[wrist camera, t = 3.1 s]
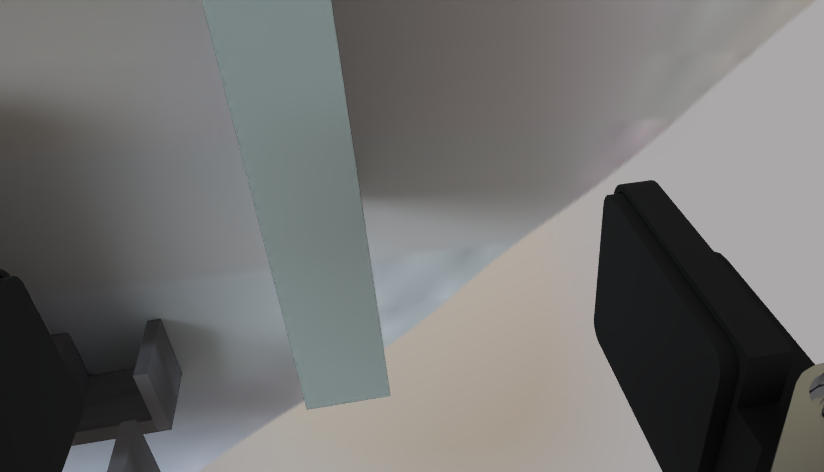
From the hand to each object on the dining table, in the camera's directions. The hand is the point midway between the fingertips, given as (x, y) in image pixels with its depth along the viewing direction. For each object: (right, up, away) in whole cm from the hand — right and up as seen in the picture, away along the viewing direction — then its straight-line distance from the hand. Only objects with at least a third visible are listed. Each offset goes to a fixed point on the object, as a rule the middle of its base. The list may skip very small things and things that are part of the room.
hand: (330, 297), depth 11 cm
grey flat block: (-3, +9, +14) cm, 17 cm away
